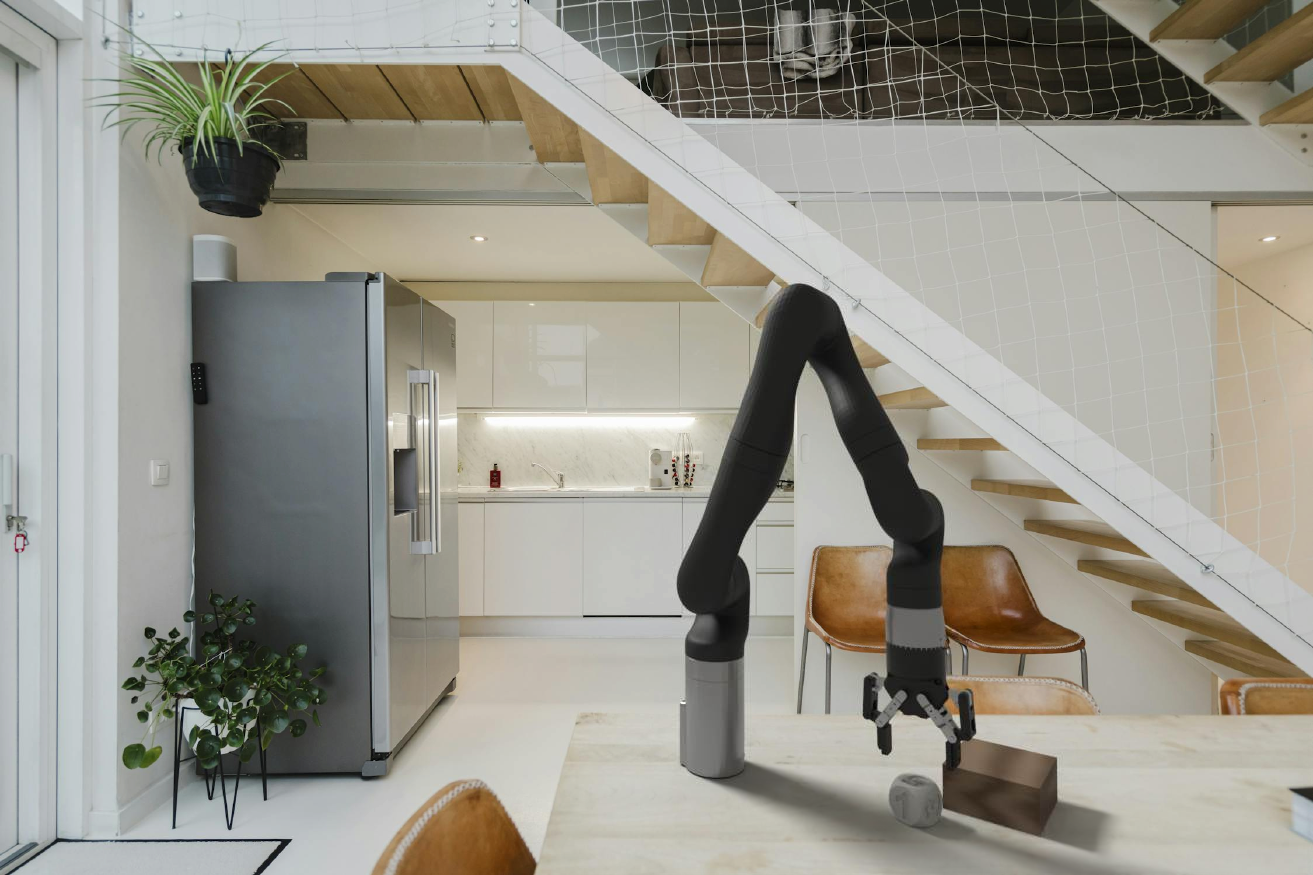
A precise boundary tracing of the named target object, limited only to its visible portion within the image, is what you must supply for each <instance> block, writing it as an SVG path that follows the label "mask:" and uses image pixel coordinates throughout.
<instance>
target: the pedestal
mask: <svg viewBox="0 0 1313 875" xmlns="http://www.w3.org/2000/svg"><path fill="white" fill-rule="evenodd" d="M941 765H942V767H941V768H942V770H941V771H942V772H941V773H942V798H943V807H942V809H946V810H948V811H951V812H952V811H953V812H955V813H958V814H962V815H965V816H969V817H972V818H975V819H978V820H979V819H980V820H983V821H984V822H985V821H986V822H989V823H993V824H996V825H1000V826H1002V827H1006V828H1010V829H1013V830H1016V831H1019V832H1024V833H1027V834H1030V835H1034V836H1037V837H1041V836H1042V834H1043V832H1044V830H1045V828H1046V825H1047V824H1048V822H1049V819H1050V818H1051V815H1052V814H1053V811H1054V809H1055V807H1056V804H1057V803H1058V801H1059V800H1058V796H1059V795H1058V757H1057V756H1052V755H1048V754H1044V753H1039V752H1035V751H1031V750H1027V749H1022V748H1018V747H1014V746H1009V745H1004V744H1001V743H996V742H990V741H987V740H983V739H977V738H975V737H972V739H971V740H970V741H961V762H960V765H959V766H958V767H957V768H955V770H954V771H953V772H952V771H948V770H946V759H945V760H944V761H943V762H942V764H941Z"/></svg>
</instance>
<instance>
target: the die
mask: <svg viewBox="0 0 1313 875" xmlns="http://www.w3.org/2000/svg"><path fill="white" fill-rule="evenodd" d="M888 792H889V793H888V803H889V806H890V809H891V811H892V813H893V814H894V816H895V817H896V818H897V819H898V820H899V821H900V822H901V823H903V824H904V825H906V826H910V827H913V828H921V829H923V828H930V827H933V826H934V825H935V824H936V823H937V822H938V821H939V819H940V818H941V815H942V811H943V793H942V792H941V790H940V788H939V786H938V784H937V783H936V782H935V781H934V780H933V779H932V778H930V777H929V776H926V775H924V774H921V773H915V772H914V773H913V772H904V773H901V774H898V775H897V776H896V777H895V778H894V779H893V781H892V782H891V785H890V788H889V791H888Z"/></svg>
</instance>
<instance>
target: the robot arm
mask: <svg viewBox="0 0 1313 875" xmlns="http://www.w3.org/2000/svg"><path fill="white" fill-rule="evenodd" d="M853 345H854V344H853V342H852V340H851V336H850V334H849V330H848V328H847V325H846V322H845V319H844V316H843V314H842V311H841V308H840V306H839V304H838V303H837V302H836V300H834V299H833V298H832V297H831V295H829V294H827V293H826V292H824V291H822V290H819V289H817V288H816V287H815V286H812V285H809V284H807V283H802V282H798V283H792V284H790V285H789V284H788V285H787V286H785V287H784V288H782V289H781V290H780V291H779V292H777V294H776V295H775V296H774V297H773V299H772V300H771V302H770V304H769V307H768V309H767V312H766V314H765V319H764V322H763V327H762V330H761V335H760V339H759V344H758V348H757V352H756V356H755V360H754V364H753V368H752V371H751V375H750V377H749V381H748V383H747V386H746V389H745V391H744V394H743V397H742V401H741V404H740V406H739V409H738V413H737V415H736V418H735V421H734V423H733V425H732V428H731V431H730V434H729V437H728V439H727V442H726V446H725V448H724V451H723V455H722V458H721V459H720V460H721V461H720V464H719V467H718V470H717V473H716V475H715V480H714V482H713V485H712V488H711V489H710V493H709V497H708V499H707V503H706V505H705V509H704V511H703V512H704V513H703V515H702V517H701V519H700V523H699V525H698V527H697V529H696V532H695V534H694V535H693V538H692V540H691V541H690V544H689V546H688V548H687V551H686V553H685V554H684V557H683V559H682V561H681V564H680V566H679V568H678V571H677V576H676V592H677V595H678V598H679V601H680V602H681V604H682V606H684V608H685V610H687V611H689V612H690V613H693V614H695V617H694V618H695V619H694V622H693V623H692V626H691V628H690V629H689V630H688V632H687V634H686V635H685V639H684V666H685V667H684V670H685V671H684V677H685V678H684V679H685V680H684V700H682V701H680V703H679V764H681V765H683V766H685V768H686V769H687V770H688V771H690V773H693V774H694V775H698V776H701V777H705V778H713V779H714V778H715V779H717V778H718V779H719V778H729V777H733V776H736V775H738V774H740V773H741V772H742V771H743V770H744V769H745V756H746V754H745V740H746V739H745V736H746V734H745V733H746V732H745V724H746V723H745V718H746V717H745V714H746V713H745V645H746V641H747V638H748V634H749V629H750V615H751V614H750V612H751V611H750V610H751V609H750V607H751V578H750V573H749V572H750V571H749V569H748V567H747V564H746V562H745V560H743V558H742V557H741V556H740V555H739V553H740V550H741V547H742V545H743V542H744V539H745V537H746V535H747V533H748V531H749V530H750V528H751V527H752V525H753V523H754V522H755V520H756V519H757V517H758V516H759V515H760V513H761V512H762V511H763V509H764V508H765V506H766V505H767V503H768V502H769V500H770V498H771V497H772V496H773V493H774V491H775V490H776V488H777V486H778V484H779V481H780V480H781V477H782V474H783V472H784V469H785V466H786V463H787V461H788V458H789V455H790V452H791V449H792V446H793V442H794V441H793V440H794V433H795V418H796V417H795V416H796V415H795V414H796V397H797V393H798V392H797V390H798V388H799V383H800V380H801V377H802V374H803V372H804V369H805V366H806V365H807V363H808V364H809V365H810V366H811V368H812V369H813V370H814V372H815V374H816V375H817V377H818V379H819V381H820V382H821V384H822V387H823V388H824V390H825V394H826V395H827V399H828V402H829V405H830V410H831V413H832V417H833V420H834V423H835V426H836V428H837V432H838V434H839V436H840V439H841V441H842V443H843V445H844V447H845V448H846V451H847V452H848V454H849V457H850V458H851V460H852V462H853V463H854V465H855V467H856V469H857V471H858V472H859V474H860V476H861V478H862V481H863V485H864V488H865V491H866V495H867V498H868V501H869V504H870V507H871V509H872V511H873V514H874V516H875V519H876V521H877V522H878V524H879V526H880V527H881V529H882V531H883V532H884V533H885V534H886V535H887V536H888V537H889V538H891V539H892V543H893V544H892V557H891V560H890V562H889V563H888V565H887V568H886V574H885V575H886V576H885V577H886V578H885V579H886V580H885V581H886V582H885V584H886V585H885V587H886V588H885V589H886V612H885V618H884V620H885V621H884V622H885V655H886V656H885V659H886V660H885V663H886V664H885V666H886V677H885V676H880V675H879V674H878V673H877V672H875V671H873V672H871V673H868V674H867V675H866V676H864V677H863V689H862V691H863V692H862V717H863V718H864V720H867V721H871V722H872V723H874V724H875V726H876V743H877V744H876V746H877V748H878V750H880V752H881V755H882V756H889V755H890V754H891V753H892V752H893V735H892V732H893V731H892V723H890V721H891V720H892V719H893V718H894V716H895V715H896V714H897V713H898V712H901V713H902V715H904V716H911V717H912V716H914V717H915V716H916V717H918V718H919V719H924V720H927V719H930V720H931V721H932V722H933V723H934V725H935V726H936V728H938V729H940V731H941V732H942V734H943V735H944V737H945V739H946V741H945V760H946V770H948V771H952V772H953V771H954V770H955V768H957V767H958V766H959V765H960V762H961V743H962V742H963V741H970V740H971V739H972V738H974V736H976V734H977V724H976V713H975V712H976V710H975V703H974V692H973V690H972V689H971V688H964V689H963V690H961V689H953V688H950V687H949V685H948V682H947V662H946V661H947V656H946V655H947V654H946V653H947V652H946V650H947V648H946V640H947V632H946V622H945V615H944V612H943V585H942V576H941V575H942V574H941V573H942V572H941V569H942V568H941V567H942V560H943V551H944V542H945V531H946V530H945V528H946V527H945V526H946V524H945V523H946V522H945V519H946V518H945V512H944V507H943V505H942V503H941V501H940V500H939V498H938V497H937V496H936V495H935V494H934V493H933V492H931V491H929V490H927V489H925V488H920V487H919V484H918V483H917V481H916V479H915V477H914V475H913V473H912V470H911V469H910V466H909V462H910V456H909V453H908V452H907V449H906V447H905V444H904V443H903V440H902V439H901V437H900V435H899V433H898V432H897V430H896V428H895V426H894V424H893V423H892V421H891V419H890V417H889V416H888V414H887V412H886V410H885V408H884V406H883V405H882V404H881V401H880V400H879V398H878V397H877V394H876V393H875V391H874V389H873V387H872V385H871V382H869V380H868V378H867V376H866V374H865V372H864V369H863V368H862V365H861V362H860V361H859V358H858V356H857V353H856V351H855V348H854V346H853ZM883 687H884V689H885V691H886V693H887V694H888V695H889V697H890V699H891V700H890V701H889V703H888V704H887V705H885V707H884V708H883V710H882V711H880V710H878V709H879V708H878V706H879V705H878V704H879V692H880V691H881V690H882V689H883ZM949 699H951V701H952V702H953V704H954V707H955V708H957V709H958V713H959V714H958V716H959V723H960V726H958V724H957V722H955V720H954V719H953V715H952V713H951V711H950V710H949V709H948V707H947V705H946V703H947V702H948V700H949Z"/></svg>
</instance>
